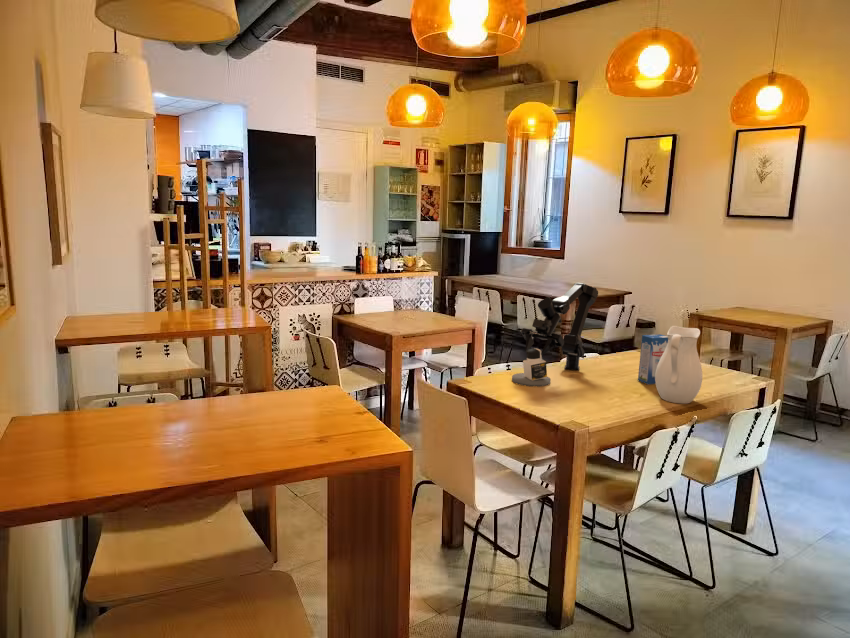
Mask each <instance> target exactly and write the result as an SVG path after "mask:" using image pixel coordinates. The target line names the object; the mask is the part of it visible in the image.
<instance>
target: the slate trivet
mask: <svg viewBox="0 0 850 638" xmlns="http://www.w3.org/2000/svg"><path fill="white" fill-rule="evenodd" d="M511 382H513V383H514V384H516V383H517V385H519V384H520V385H519V386H524V385H526V387H533V386H537V387H538V388H539V387H547V386H549V385H551V378H550V377H549V376H547V377H546V378H542V379H537V380H533V381H532V380H530V379H528V378H527V377H525V376H524V372H519V373H514V374H512V375H511Z"/></svg>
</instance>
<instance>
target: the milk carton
mask: <svg viewBox="0 0 850 638" xmlns="http://www.w3.org/2000/svg"><path fill="white" fill-rule="evenodd" d="M640 343H641V345H640V354H639V363H638V365H639V366H638V375H637V376H638V377H637V381H638V380H639V381H638V382H640V381H641V383H643V382H644V384H645V383H646V385H656V383H655V373H656V368H657V365H658V363H659V360H660V358H661V356H662V355H663V353H664V351H665V349H666V347H667V344H668V336H667V335H664V334H645V335H644V334H643V335H641V342H640Z"/></svg>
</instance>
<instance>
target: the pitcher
mask: <svg viewBox="0 0 850 638" xmlns="http://www.w3.org/2000/svg"><path fill="white" fill-rule="evenodd" d="M700 335H701V330H700V329H699V328H697V327H683V326H679V325H671V326H670V327H669V329H668V330H667V333H666V336H668V344H667V347H666V349H665V351H664V353H663V355H662V356H661V358H660V360H659V363H658V365H657V368H656V373H655V383H656V384H655V387H656V390H657V392H658V394H659V396H660V398H661V399H662V400H664V401H666V402H670V403H673V404H683V405H684V404H690V403H691V402H693V400H694V399H695V398H696V397H697V396H698V394H699V393H700V390H701V387H702V383H703V368H702V363H701V360H700V357H699V356H700V355H699V353H698V349H697V344H698V343H697V342H698V339H699V338H700Z"/></svg>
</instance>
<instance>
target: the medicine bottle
mask: <svg viewBox="0 0 850 638" xmlns="http://www.w3.org/2000/svg"><path fill="white" fill-rule="evenodd" d="M541 352H542V350H541V349H539V348H535V347H534V348H533V347H532V348H530V349H529V350H527V351H525V353H526V359H524V360H523V361H522V365H523V373H524V376H525V377H527V378H528V379H530V380H532V381H533V380H537V379H542V378H546V377H548V371H547V361H546V360H544V359H543V357H542V356H543V355H541Z"/></svg>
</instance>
